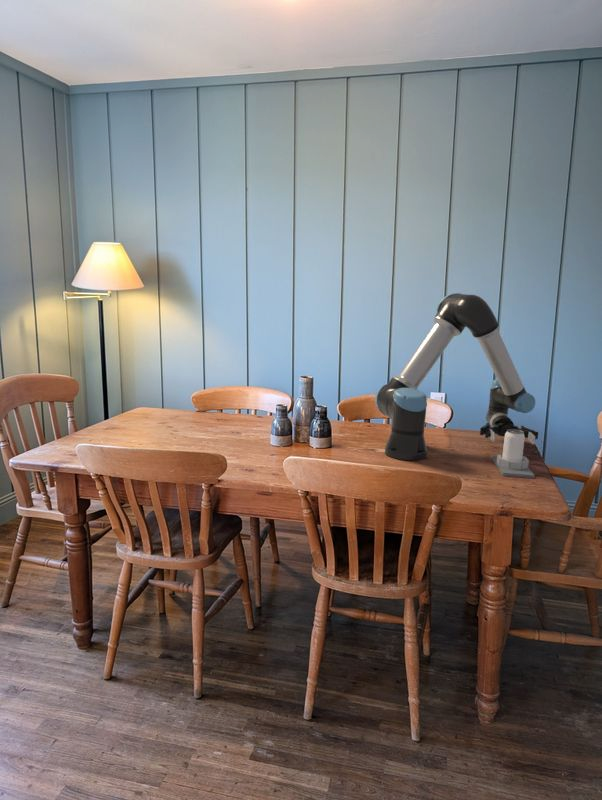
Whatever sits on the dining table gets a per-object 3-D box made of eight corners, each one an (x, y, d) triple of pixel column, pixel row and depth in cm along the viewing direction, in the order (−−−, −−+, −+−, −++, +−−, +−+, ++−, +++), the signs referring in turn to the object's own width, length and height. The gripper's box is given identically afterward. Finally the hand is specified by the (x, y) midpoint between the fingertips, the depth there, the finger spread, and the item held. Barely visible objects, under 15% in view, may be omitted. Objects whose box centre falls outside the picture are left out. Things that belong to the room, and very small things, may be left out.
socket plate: (502, 475, 194) (503, 465, 193) (491, 457, 214) (492, 448, 213) (534, 478, 193) (535, 468, 192) (520, 460, 212) (521, 450, 212)
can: (508, 468, 199) (512, 433, 197) (497, 462, 205) (501, 428, 203) (525, 467, 201) (529, 433, 198) (514, 461, 207) (518, 428, 204)
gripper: (534, 436, 225) (549, 452, 205) (467, 431, 228) (475, 446, 208) (536, 417, 224) (552, 431, 203) (469, 412, 227) (477, 426, 206)
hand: (513, 439), depth 205 cm, fingers open, 13 cm apart
